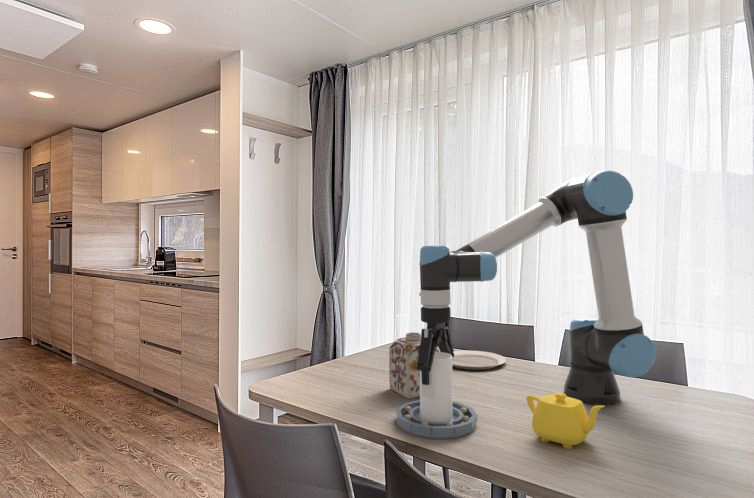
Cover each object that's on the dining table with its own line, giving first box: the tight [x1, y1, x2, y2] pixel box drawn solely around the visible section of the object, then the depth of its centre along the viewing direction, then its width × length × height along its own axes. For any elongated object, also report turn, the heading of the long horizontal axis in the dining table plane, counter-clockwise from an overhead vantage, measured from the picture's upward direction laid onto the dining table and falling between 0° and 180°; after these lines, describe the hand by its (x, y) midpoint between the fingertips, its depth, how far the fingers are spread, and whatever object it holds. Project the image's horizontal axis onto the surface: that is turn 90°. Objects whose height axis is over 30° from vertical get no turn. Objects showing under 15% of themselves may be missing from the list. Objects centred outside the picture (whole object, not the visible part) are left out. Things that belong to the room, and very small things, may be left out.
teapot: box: [526, 392, 606, 450], centre depth 107 cm, size 18×11×11 cm, turn 46°
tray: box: [395, 399, 478, 440], centre depth 118 cm, size 20×20×3 cm
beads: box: [404, 406, 469, 426], centre depth 118 cm, size 17×17×2 cm
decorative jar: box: [388, 332, 440, 400], centre depth 143 cm, size 12×12×18 cm
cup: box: [419, 351, 453, 422], centre depth 118 cm, size 8×8×16 cm
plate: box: [452, 349, 507, 371], centre depth 178 cm, size 26×26×2 cm
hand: (437, 389), depth 118 cm, fingers open, 13 cm apart
